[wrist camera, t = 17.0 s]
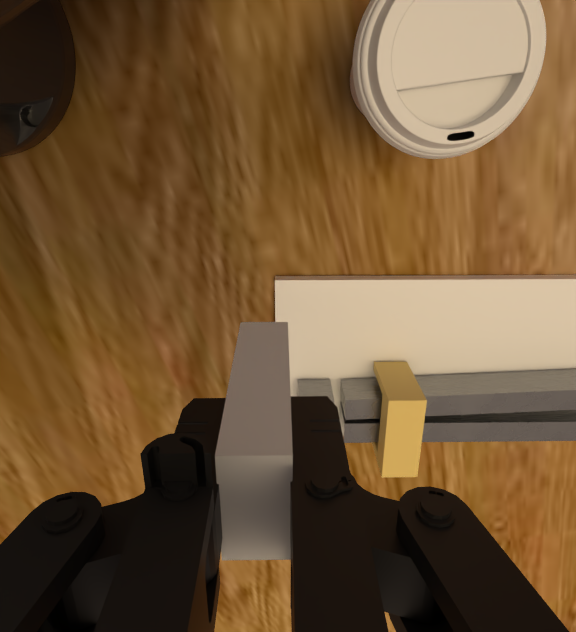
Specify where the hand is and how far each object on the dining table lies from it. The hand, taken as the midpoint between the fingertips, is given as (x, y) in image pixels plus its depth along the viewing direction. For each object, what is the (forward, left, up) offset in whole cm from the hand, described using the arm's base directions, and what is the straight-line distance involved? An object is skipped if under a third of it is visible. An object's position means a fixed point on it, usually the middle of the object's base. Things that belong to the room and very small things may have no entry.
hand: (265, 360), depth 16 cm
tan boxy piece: (+10, -17, -25) cm, 32 cm away
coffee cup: (+9, +10, -27) cm, 30 cm away
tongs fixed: (+16, -17, -25) cm, 34 cm away
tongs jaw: (+18, -15, -25) cm, 34 cm away
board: (+17, -14, -26) cm, 34 cm away
